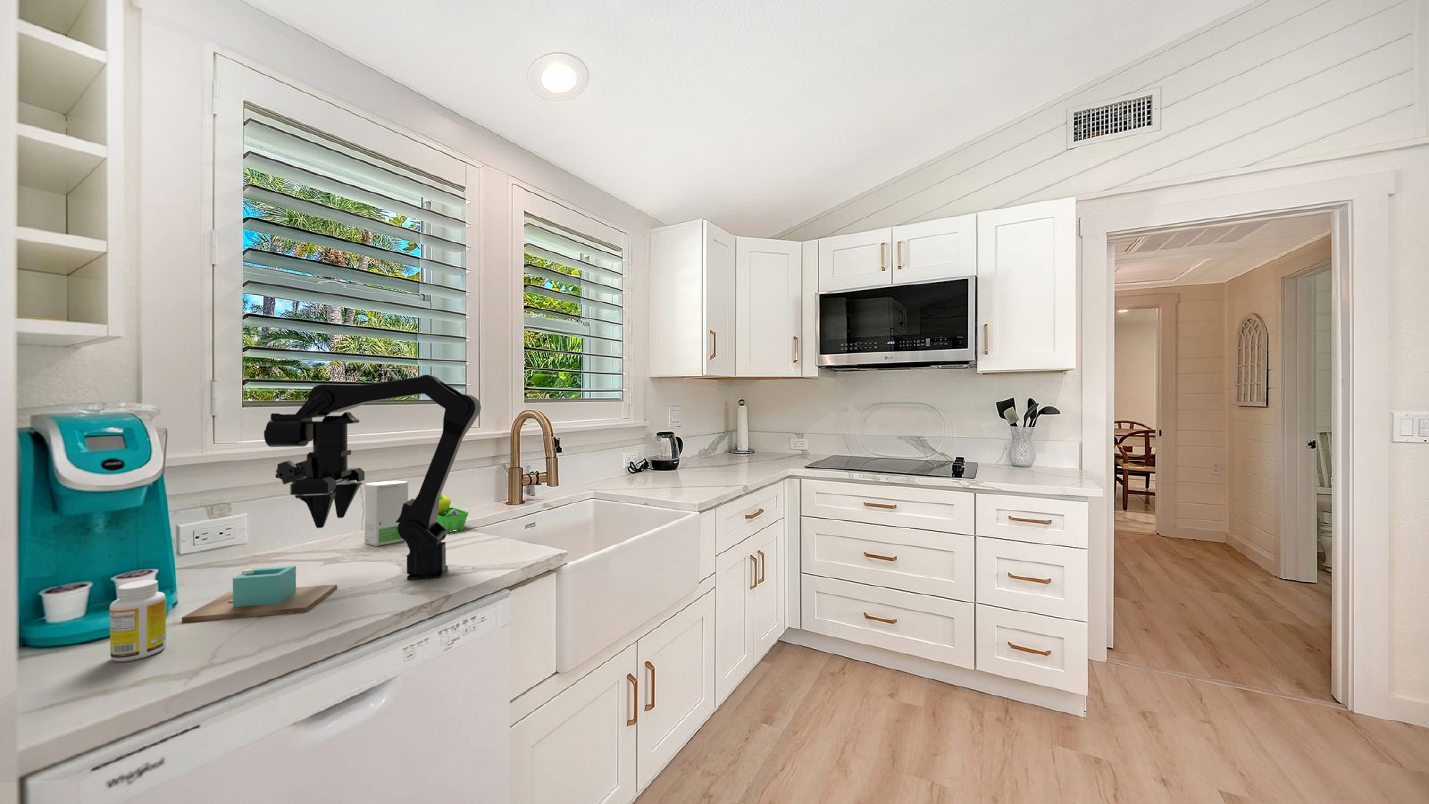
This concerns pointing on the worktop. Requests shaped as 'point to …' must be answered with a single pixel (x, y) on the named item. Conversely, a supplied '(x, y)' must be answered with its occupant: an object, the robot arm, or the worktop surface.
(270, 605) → the base plate
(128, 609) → the supplement bottle
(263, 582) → the teal hollow block
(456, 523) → the fruit basket
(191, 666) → the worktop surface
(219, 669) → the worktop surface
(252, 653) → the worktop surface
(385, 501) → the skincare box
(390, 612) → the worktop surface
